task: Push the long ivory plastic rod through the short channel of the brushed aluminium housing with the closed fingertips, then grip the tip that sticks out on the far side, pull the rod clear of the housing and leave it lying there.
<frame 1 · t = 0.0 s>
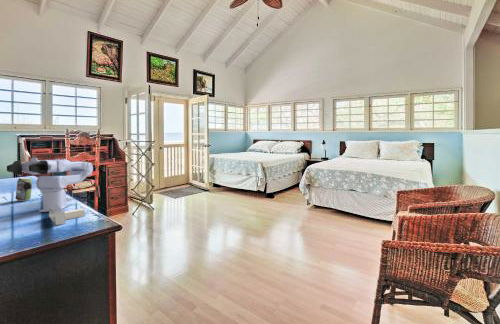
hand: (18, 168, 103), 22 cm above the table, tool horizontal, fingers open, 7 cm apart
beverage can: (25, 200, 141), on the table
housing: (57, 220, 109), on the table
rod: (68, 218, 112), on the table
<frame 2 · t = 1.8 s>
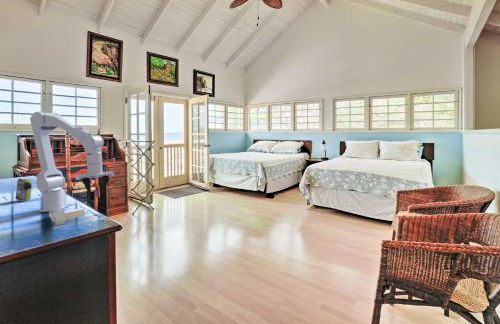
hand: (96, 194, 118), 8 cm above the table, tool pointing down, fingers open, 5 cm apart
nothing on the table moved.
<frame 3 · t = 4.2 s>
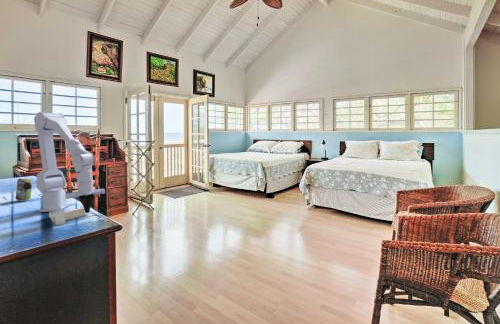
hand: (87, 212, 116), 1 cm above the table, tool pointing down, fingers closed
rod: (68, 218, 112), on the table, touching gripper
everything else where it was.
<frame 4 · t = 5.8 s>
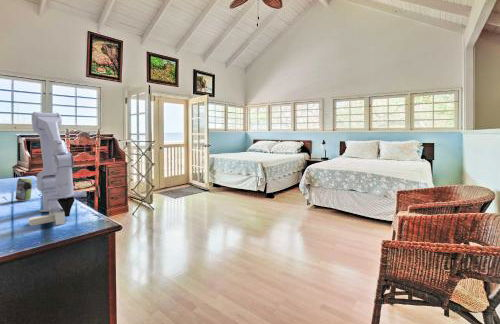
hand: (67, 216, 111), 1 cm above the table, tool pointing down, fingers closed
rod: (47, 223, 107), on the table
everything else where it was.
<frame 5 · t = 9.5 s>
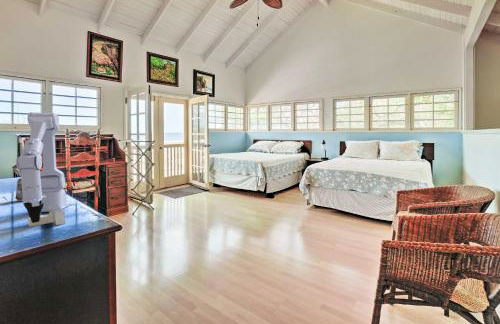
hand: (34, 220, 104), 1 cm above the table, tool pointing down, fingers open, 3 cm apart
rod: (47, 222, 107), on the table
everything else where it was.
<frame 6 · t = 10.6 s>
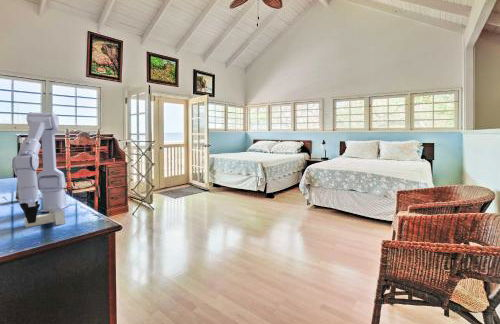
hand: (31, 221, 103), 1 cm above the table, tool pointing down, fingers closed on rod, 3 cm apart
rod: (43, 222, 106), on the table, touching gripper
everything else where it was.
when the fingers open (1 cm above the table, at t = 11.7 s): rod stays where it is, on the table.
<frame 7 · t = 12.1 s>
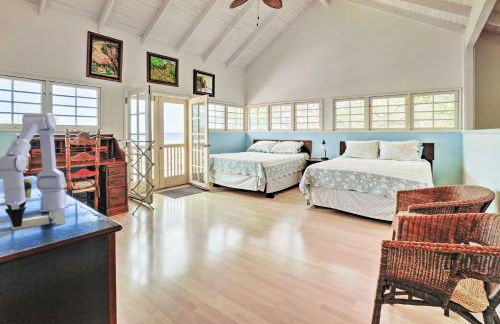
hand: (17, 224, 100), 1 cm above the table, tool pointing down, fingers open, 6 cm apart
rod: (31, 226, 103), on the table
everything else where it was.
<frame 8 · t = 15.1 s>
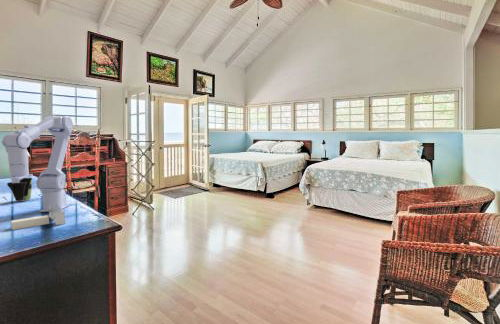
hand: (21, 198, 107), 9 cm above the table, tool pointing down, fingers open, 7 cm apart
nothing on the table moved.
at the end: rod 1.6 cm from the target spot, on the table; rod touching table; the gripper is holding nothing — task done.
